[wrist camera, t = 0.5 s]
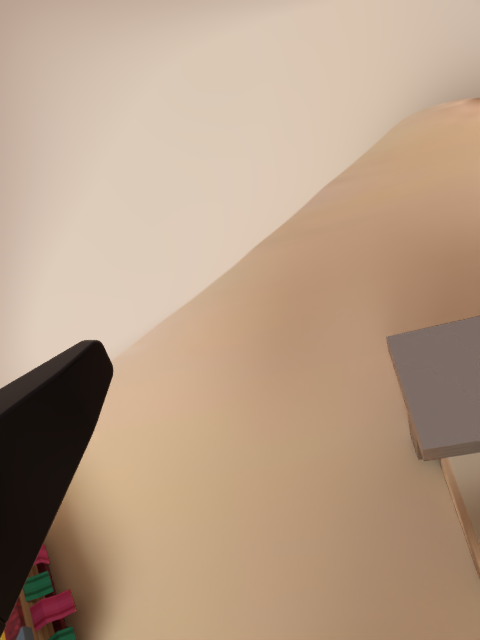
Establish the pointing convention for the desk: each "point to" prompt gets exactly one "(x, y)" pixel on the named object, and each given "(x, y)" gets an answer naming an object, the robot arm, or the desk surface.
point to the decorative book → (40, 607)
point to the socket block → (466, 497)
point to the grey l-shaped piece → (440, 386)
